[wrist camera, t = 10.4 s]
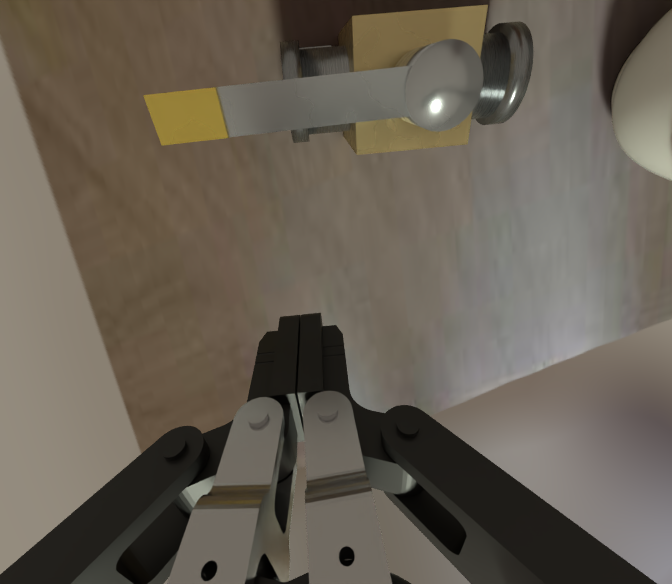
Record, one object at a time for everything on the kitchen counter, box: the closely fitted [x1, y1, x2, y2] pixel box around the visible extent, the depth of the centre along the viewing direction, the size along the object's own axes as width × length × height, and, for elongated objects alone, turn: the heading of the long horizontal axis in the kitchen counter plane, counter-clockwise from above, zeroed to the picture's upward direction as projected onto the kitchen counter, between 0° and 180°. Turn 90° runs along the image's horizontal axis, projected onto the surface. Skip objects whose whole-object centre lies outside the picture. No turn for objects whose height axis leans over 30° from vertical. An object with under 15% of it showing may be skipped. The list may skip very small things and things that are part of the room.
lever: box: [143, 39, 483, 145], centre depth 14 cm, size 14×3×3 cm, turn 95°
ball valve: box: [280, 5, 533, 155], centre depth 19 cm, size 14×6×8 cm, turn 94°
